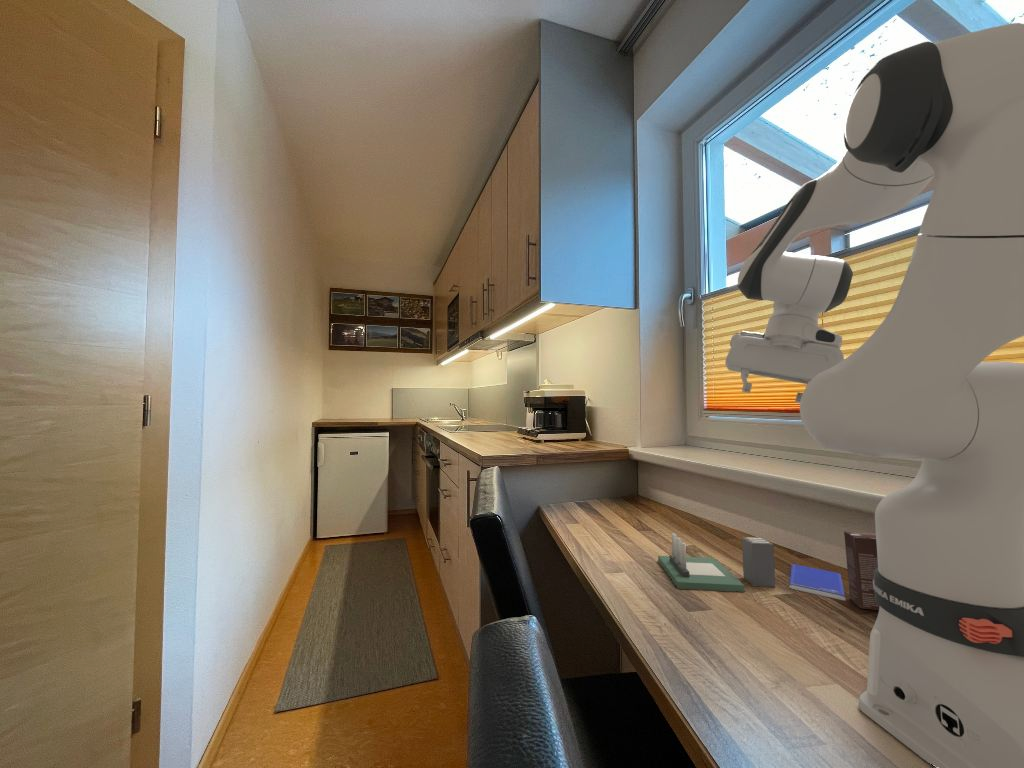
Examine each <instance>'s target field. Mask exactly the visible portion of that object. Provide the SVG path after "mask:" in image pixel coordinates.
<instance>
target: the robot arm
mask: <svg viewBox="0 0 1024 768" xmlns="http://www.w3.org/2000/svg"><path fill="white" fill-rule="evenodd" d="M843 140H844V141H843V142H844V145H845V151H844V152H843V154H842V156H841V158H840V159H839V160H838V161H837V162H836V163H835V164H833V166H832V167H831V168H830V169H828V171H826V172H824V173H823V174H821V175H820V176H819V177H817V178H814V179H812V180H809V181H807V182H805V183H803V184H802V185H801V186H800V187H799V189H798V190H797V191H796V192H795V193H794V194H793V196H792V197H791V198H790V199H789V201H788V202H787V204H786V205H785V206H784V208H783V209H782V210H781V211H780V213H779V215H778V216H777V218H776V220H774V222H773V224H772V225H771V226H770V228H769V229H768V231H767V232H766V234H765V235H764V236H763V238H762V240H761V241H760V242H759V244H758V245H757V247H756V248H755V249H754V250H753V251H751V253H750V255H749V256H748V258H747V259H746V260H745V262H744V263H742V266H741V267H740V270H739V273H738V277H737V288H738V289H739V291H740V292H741V294H742V295H743V296H744V297H745V299H747V300H754V301H755V300H756V301H767V302H768V301H770V302H773V303H772V305H773V307H772V308H773V311H772V314H771V316H770V317H769V318H768V322H767V325H766V328H765V332H764V333H762V332H761V333H760V332H753V331H752V332H750V331H746V330H742V331H739V332H736V333H734V334H733V335H732V336H731V339H730V341H729V346H730V349H729V350H728V352H727V355H726V357H725V367H726V369H727V370H728V371H733V372H737V373H740V378H741V381H742V384H743V386H742V389H741V392H743V393H747V394H750V393H751V390H752V387H753V384H752V383H751V382H748V378H749V375H752V376H753V375H755V376H760V377H764V378H765V377H766V378H772V379H778V380H781V381H787V382H792V383H799V384H804V385H806V387H805V388H804V390H803V392H797V393H796V396H795V401H794V403H797V404H799V416H800V419H801V421H802V424H803V427H804V429H805V430H806V431H807V433H808V435H809V436H810V437H811V438H812V439H813V440H814V441H815V442H816V443H817V444H819V445H820V446H821V447H823V448H825V449H829V450H834V451H838V452H842V453H847V454H853V455H859V456H864V457H869V458H890V459H891V458H895V459H896V458H897V459H898V458H902V459H922V460H921V464H920V468H919V470H918V472H917V474H916V475H915V476H914V478H913V480H912V481H911V482H910V483H909V484H907V485H906V486H905V487H903V488H900V489H898V490H896V491H894V492H891V493H889V494H888V495H886V496H884V497H883V498H882V499H881V500H880V502H878V504H877V506H876V508H875V511H874V525H875V534H876V543H877V558H878V568H876V569H875V570H874V580H873V588H874V593H875V601H876V602H877V603H878V604H879V605H880V606H879V610H878V614H877V617H876V619H875V622H874V625H873V627H872V629H871V631H870V635H869V636H870V637H869V647H868V664H867V679H866V681H867V683H866V690H865V691H863V692H862V693H861V694H860V695H859V697H858V709H859V710H860V711H862V713H863V714H864V715H866V716H867V717H868V718H870V719H871V720H872V721H874V722H875V723H876V724H877V725H879V726H880V727H882V729H884V730H885V731H887V733H889V734H891V735H892V736H893V737H894V738H896V739H897V740H898V741H899V742H901V743H902V744H903V745H905V746H906V747H907V748H909V749H910V750H911V751H913V752H914V753H915V754H916V755H918V756H919V757H920V758H922V759H923V760H924V761H925V762H927V763H928V764H929V763H930V764H929V765H931V764H932V765H935V766H936V767H939V768H1024V363H1018V362H1013V361H1012V362H1011V361H984V360H985V359H986V358H988V357H989V356H990V355H991V354H993V353H994V352H995V351H997V350H998V349H1000V348H1001V347H1002V348H1003V346H1005V345H1007V344H1008V343H1010V342H1013V341H1014V340H1017V339H1019V338H1022V337H1024V23H1020V22H1015V23H1014V22H1013V23H1008V24H1003V25H997V26H994V27H993V26H992V27H988V28H985V29H981V30H980V29H979V30H976V31H971V32H968V33H967V32H966V33H964V34H960V35H957V36H953V37H950V38H946V39H943V40H940V41H937V42H932V41H923V42H920V43H916V44H914V45H911V46H908V47H905V48H903V49H900V50H897V51H896V52H893V53H890V54H889V55H886V56H883V58H881V59H880V60H878V61H877V62H876V63H874V65H873V66H872V67H871V69H869V71H868V72H867V73H866V74H865V75H864V77H862V79H861V80H860V82H859V84H858V85H857V88H856V89H855V92H854V94H853V95H852V99H851V101H850V102H849V106H848V109H847V112H846V115H845V120H844V130H843ZM934 177H935V182H934V187H933V191H932V194H931V197H930V199H929V203H928V205H927V208H926V210H925V213H924V215H923V218H922V221H921V222H922V223H921V224H920V229H919V231H918V234H917V237H916V241H915V244H914V246H913V251H912V254H911V257H910V259H909V263H908V266H907V268H906V272H905V274H904V277H903V280H902V282H901V286H900V287H899V291H898V293H897V296H896V299H895V301H894V302H893V304H892V306H891V309H890V310H889V312H888V314H886V316H885V318H884V320H883V321H882V322H881V323H880V324H879V326H878V327H877V328H876V330H875V331H874V332H872V334H871V336H869V338H867V340H866V341H864V342H863V344H861V345H860V346H859V347H858V348H857V349H856V350H855V351H853V352H852V353H850V354H849V355H848V356H847V357H846V358H845V356H844V353H843V350H841V347H842V345H843V344H842V343H843V336H842V335H841V334H839V333H836V332H833V331H830V330H828V329H825V328H822V327H820V326H819V321H818V320H819V317H820V315H821V314H826V313H828V312H830V311H831V310H833V309H835V308H836V307H838V306H840V305H842V304H843V303H844V302H845V300H846V298H847V297H848V293H849V291H850V286H851V284H852V280H853V276H854V272H853V270H852V268H851V266H850V264H849V263H848V261H846V260H845V259H842V258H841V259H840V258H837V257H832V256H831V257H830V256H823V255H811V254H806V253H805V254H804V253H796V252H790V251H789V252H788V251H787V250H788V248H789V247H790V246H791V244H792V243H793V242H794V241H795V239H796V238H797V237H799V236H800V235H802V234H803V233H806V232H807V233H808V232H809V231H812V230H818V229H822V228H827V227H828V228H829V227H834V226H841V225H843V226H844V225H852V224H853V225H854V224H855V225H856V224H863V223H864V224H865V223H870V222H872V221H877V220H879V219H882V218H885V217H888V216H890V215H893V214H895V213H897V212H899V211H900V210H902V209H904V208H905V207H906V206H908V205H909V204H910V203H911V202H913V201H914V200H915V199H916V198H917V197H918V196H920V194H921V193H922V192H923V191H924V190H925V189H926V187H927V186H929V184H930V183H931V182H932V180H933V179H934ZM932 765H931V766H932Z"/></svg>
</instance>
